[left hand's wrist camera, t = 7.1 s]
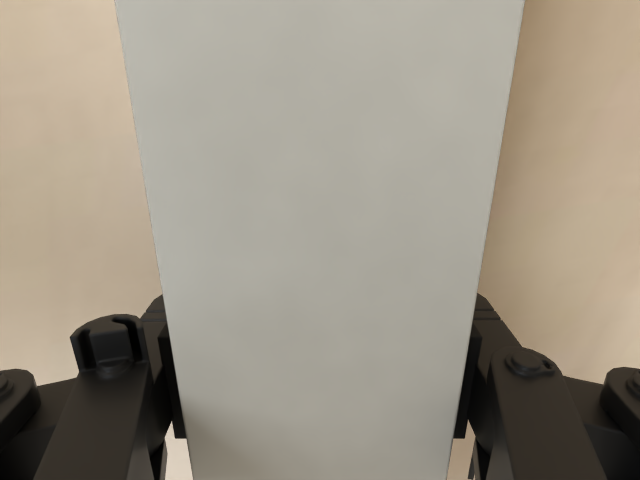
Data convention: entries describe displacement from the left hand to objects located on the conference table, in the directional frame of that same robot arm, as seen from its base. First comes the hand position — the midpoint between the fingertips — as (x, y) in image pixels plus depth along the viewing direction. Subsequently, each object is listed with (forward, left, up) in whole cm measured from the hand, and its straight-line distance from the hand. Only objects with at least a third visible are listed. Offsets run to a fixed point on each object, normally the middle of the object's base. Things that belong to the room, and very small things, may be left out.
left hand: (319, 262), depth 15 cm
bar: (+20, +22, -1) cm, 30 cm away
